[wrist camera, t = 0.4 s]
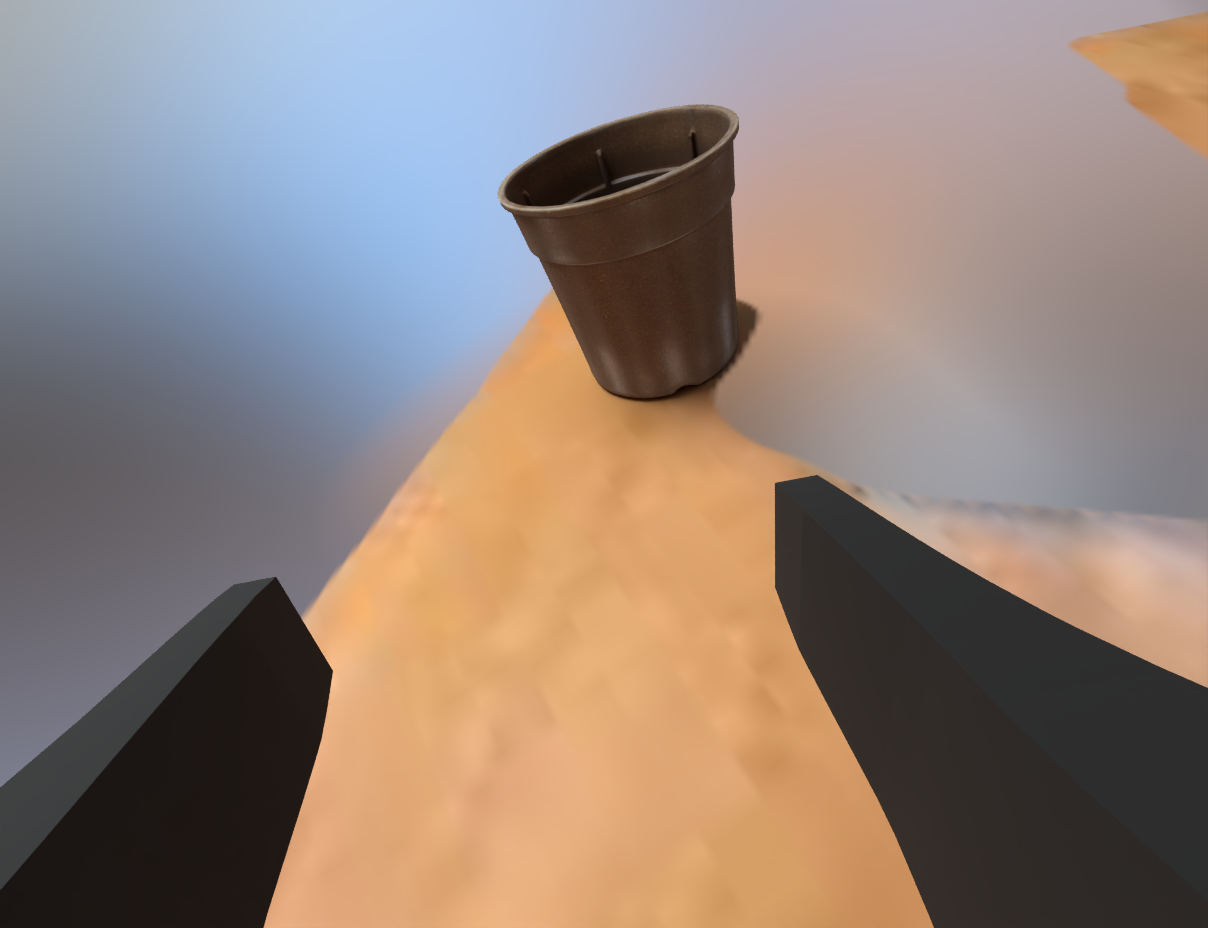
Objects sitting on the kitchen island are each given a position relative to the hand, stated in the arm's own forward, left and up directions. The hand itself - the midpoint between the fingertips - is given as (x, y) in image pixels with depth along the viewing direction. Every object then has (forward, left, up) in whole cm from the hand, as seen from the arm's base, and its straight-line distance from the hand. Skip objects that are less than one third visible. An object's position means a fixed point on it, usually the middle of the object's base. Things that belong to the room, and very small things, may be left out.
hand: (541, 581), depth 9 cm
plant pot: (+37, -9, -21) cm, 43 cm away
